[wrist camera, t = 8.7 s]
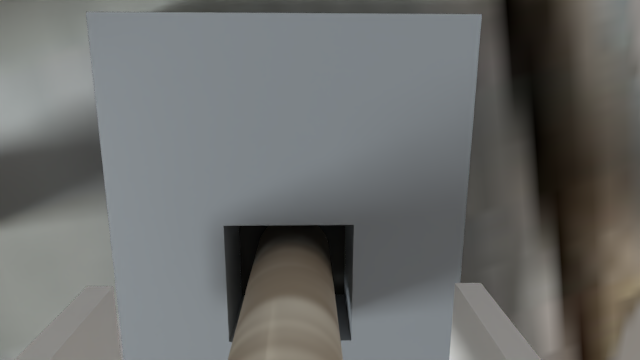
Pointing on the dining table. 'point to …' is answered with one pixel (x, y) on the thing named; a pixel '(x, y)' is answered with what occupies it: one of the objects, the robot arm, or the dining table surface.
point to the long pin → (289, 299)
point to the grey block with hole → (285, 166)
